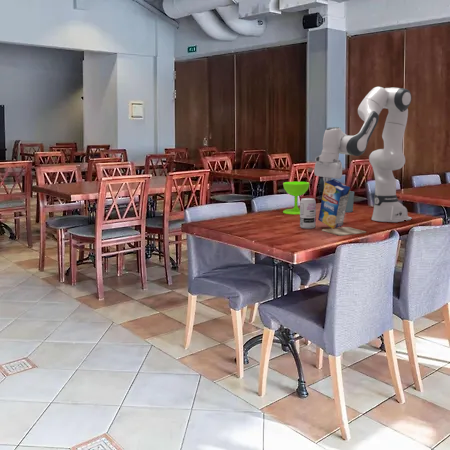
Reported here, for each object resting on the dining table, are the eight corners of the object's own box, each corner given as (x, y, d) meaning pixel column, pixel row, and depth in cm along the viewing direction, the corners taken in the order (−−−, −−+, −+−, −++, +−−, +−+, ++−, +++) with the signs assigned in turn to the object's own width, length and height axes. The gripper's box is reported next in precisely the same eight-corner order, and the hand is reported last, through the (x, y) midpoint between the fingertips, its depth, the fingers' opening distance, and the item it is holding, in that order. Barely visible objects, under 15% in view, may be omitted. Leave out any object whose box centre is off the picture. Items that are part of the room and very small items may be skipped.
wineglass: (278, 211, 352) (278, 182, 349) (302, 209, 357) (302, 181, 353) (289, 215, 337) (289, 184, 334) (313, 213, 342) (314, 183, 338)
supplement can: (305, 225, 303) (305, 197, 300) (318, 226, 298) (318, 198, 295) (296, 227, 297) (297, 199, 294) (310, 229, 291) (310, 200, 289)
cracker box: (333, 229, 288) (341, 190, 277) (318, 219, 295) (324, 181, 284) (342, 225, 292) (350, 187, 281) (326, 216, 299) (334, 179, 288)
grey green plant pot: (356, 210, 349) (356, 191, 347) (350, 213, 341) (350, 193, 338) (340, 209, 354) (340, 190, 352) (334, 211, 346) (334, 192, 344)
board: (347, 227, 294) (347, 226, 294) (366, 232, 280) (366, 231, 280) (321, 230, 287) (321, 229, 287) (339, 235, 274) (339, 234, 274)
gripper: (346, 160, 278) (343, 188, 280) (323, 158, 297) (320, 185, 299) (336, 159, 276) (332, 187, 278) (313, 157, 294) (310, 184, 296)
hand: (326, 186), depth 288 cm, fingers closed
